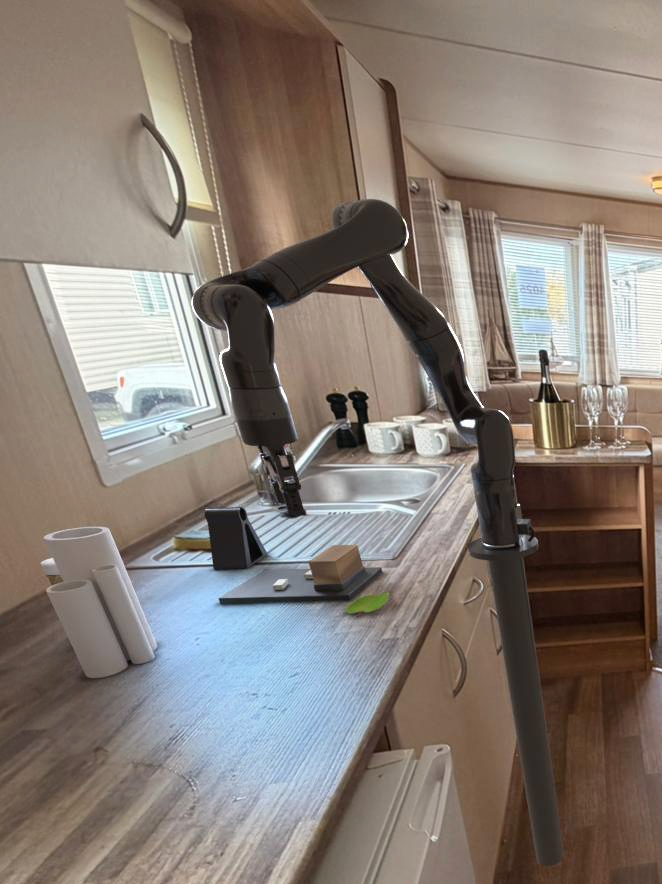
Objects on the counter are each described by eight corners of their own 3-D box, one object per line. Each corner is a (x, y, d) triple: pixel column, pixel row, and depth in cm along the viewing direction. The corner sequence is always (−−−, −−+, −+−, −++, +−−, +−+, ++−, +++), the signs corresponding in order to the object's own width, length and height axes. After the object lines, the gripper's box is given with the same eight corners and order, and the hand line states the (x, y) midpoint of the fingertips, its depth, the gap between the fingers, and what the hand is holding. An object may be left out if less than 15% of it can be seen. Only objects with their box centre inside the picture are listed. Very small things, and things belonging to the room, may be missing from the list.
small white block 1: (288, 583, 126) (287, 578, 125) (283, 589, 123) (281, 584, 123) (279, 584, 125) (278, 579, 125) (273, 590, 123) (272, 585, 122)
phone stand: (247, 568, 135) (229, 513, 130) (213, 569, 133) (194, 514, 128) (267, 554, 143) (251, 502, 138) (236, 555, 141) (218, 502, 136)
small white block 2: (321, 573, 131) (319, 568, 131) (313, 578, 128) (311, 574, 128) (313, 573, 131) (311, 568, 131) (304, 579, 128) (303, 574, 128)
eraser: (365, 571, 133) (359, 544, 131) (343, 590, 124) (335, 561, 122) (339, 572, 132) (332, 544, 130) (314, 590, 123) (306, 561, 121)
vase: (106, 648, 102) (52, 529, 94) (165, 639, 106) (119, 524, 98) (80, 681, 94) (19, 553, 86) (147, 669, 97) (94, 546, 89)
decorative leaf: (336, 611, 119) (334, 606, 119) (382, 593, 126) (381, 588, 126) (360, 618, 116) (359, 613, 115) (406, 599, 123) (405, 595, 122)
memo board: (382, 572, 136) (381, 567, 136) (350, 600, 123) (348, 595, 122) (266, 574, 132) (265, 569, 132) (220, 603, 119) (218, 598, 118)
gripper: (300, 418, 106) (326, 512, 112) (281, 408, 115) (306, 495, 121) (243, 422, 101) (273, 520, 107) (228, 411, 110) (256, 502, 116)
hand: (290, 507), depth 114 cm, fingers open, 8 cm apart
